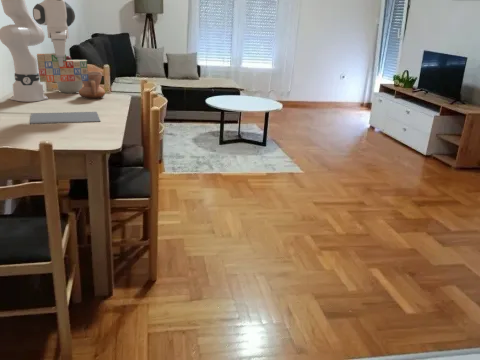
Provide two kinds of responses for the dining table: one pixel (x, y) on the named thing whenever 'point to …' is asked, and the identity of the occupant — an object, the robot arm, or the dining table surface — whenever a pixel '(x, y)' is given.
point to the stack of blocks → (61, 69)
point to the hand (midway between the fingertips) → (61, 65)
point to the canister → (69, 84)
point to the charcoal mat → (64, 117)
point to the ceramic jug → (92, 86)
